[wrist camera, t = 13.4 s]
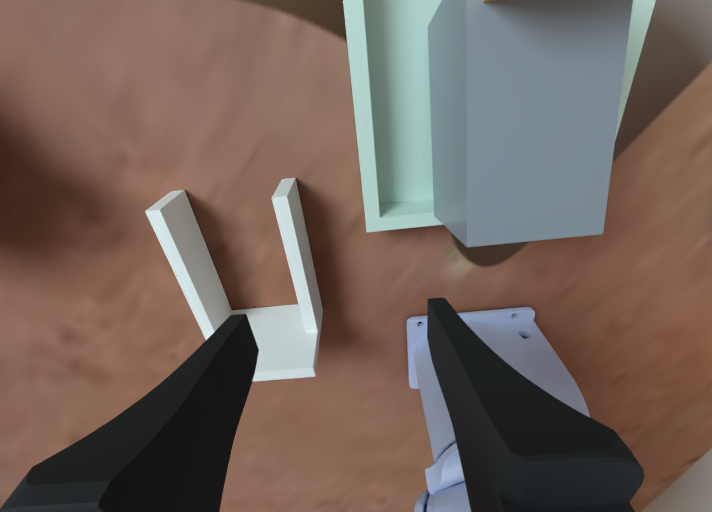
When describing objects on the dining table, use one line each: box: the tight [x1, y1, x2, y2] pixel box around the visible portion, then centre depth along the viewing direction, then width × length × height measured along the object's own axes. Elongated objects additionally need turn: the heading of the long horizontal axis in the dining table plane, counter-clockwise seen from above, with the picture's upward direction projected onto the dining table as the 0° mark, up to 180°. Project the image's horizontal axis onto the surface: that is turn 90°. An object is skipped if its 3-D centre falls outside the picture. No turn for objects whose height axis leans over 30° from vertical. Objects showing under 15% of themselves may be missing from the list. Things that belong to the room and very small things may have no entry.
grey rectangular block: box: [428, 0, 633, 247], centre depth 12 cm, size 5×9×9 cm, turn 6°
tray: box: [343, 0, 656, 232], centre depth 16 cm, size 13×15×2 cm
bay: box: [145, 178, 323, 381], centre depth 20 cm, size 8×10×6 cm
